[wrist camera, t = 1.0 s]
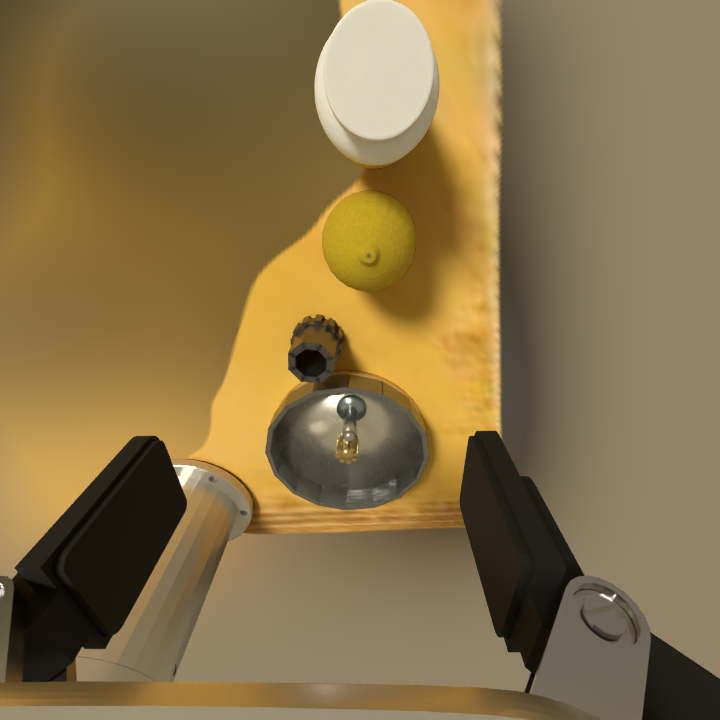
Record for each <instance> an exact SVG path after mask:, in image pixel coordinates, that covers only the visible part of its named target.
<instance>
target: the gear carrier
mask: <svg viewBox="0 0 720 720" xmlns="http://www.w3.org/2000/svg"><path fill="white" fill-rule="evenodd" d="M265 452H266V455H267V458H268V460H269V463H270V465H271V468H272V470H273V473H274V475H275V476H276V477H277V478H278V479H279V480H280V481H281V482H282V483H283V484H284V485H285V486H286V487H287V488H288V489H289V490H290V491H291V492H292V493H293V494H295V495H298V496H300V497H302V498H304V499H306V500H308V501H310V502H312V503H314V504H316V505H319V506H325V507H330V508H336V509H342V510H355V509H366V508H374V507H378V506H380V505H383V504H385V503H388V502H390V501H393V500H395V499H398V498H400V497H401V496H402V495H404V494H405V493H406V492H407V491H408V490H409V489H411V488H412V487H413V486H414V485H415V484H416V483H417V482H419V480H420V478H421V476H422V473H423V471H424V469H425V467H426V464H427V462H428V460H429V454H428V444H427V434H426V430H425V425H424V421H423V418H422V417H421V415H420V412H419V410H418V408H417V406H416V404H415V403H414V401H413V400H412V399H411V398H410V396H409V395H408V394H407V393H406V392H405V391H403V390H402V389H401V388H400V387H398V386H397V385H396V384H394V383H392V382H390V381H388V380H387V379H384V378H382V377H379V376H377V375H374V374H370V373H366V372H360V371H348V370H342V371H334V372H333V374H332V375H330V376H329V377H328V378H326V379H325V380H323V381H322V382H321V383H311V382H301V383H300V384H298V385H297V386H295V387H294V388H293V389H292V390H291V391H290V392H289V393H288V394H287V395H286V396H285V397H284V399H283V400H282V402H281V404H280V405H279V408H278V409H277V411H276V412H275V413H274V416H273V418H272V421H271V423H270V426H269V428H268V435H267V443H266V451H265Z"/></svg>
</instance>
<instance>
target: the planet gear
mask: <svg viewBox="0 0 720 720" xmlns="http://www.w3.org/2000/svg"><path fill="white" fill-rule="evenodd" d="M334 324H335V321H334V320H333V319H331V318H329V320H325V319H323V315H316V317H315V319H314V318H311V317H310V316H308V317H305V318H304V319H303V321H302V323H298V324H297V326H296V327H295V329H294V331H293V336H292V338H291V345H292V346H291V348H290V350H289V352H288V370H290V371H291V372H292V373H293V374H294V375H295V376H296V377H297V378H298V379H299V380H300V381H301V382H311V383H321V382H322V381H323V380H325V379H326V378H328V377H329V376H330V375H332V374H333V372H334V367H335V361H336V360H338V358H339V357H340V355H341V350H343V344H344V338H342V333H343V331H342V329H341V327H337V328H336V327H335V326H334Z"/></svg>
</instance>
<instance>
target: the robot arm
mask: <svg viewBox="0 0 720 720" xmlns="http://www.w3.org/2000/svg"><path fill="white" fill-rule="evenodd" d="M460 507H461V512H462V515H463V519H464V523H465V526H466V529H467V533H468V537H469V540H470V544H471V548H472V551H473V555H474V558H475V562H476V565H477V569H478V572H479V576H480V580H481V583H482V587H483V590H484V594H485V597H486V601H487V605H488V608H489V612H490V615H491V618H492V622H493V626H494V629H495V632H496V634H497V636H498V637H504V639H505V643H506V646H507V649H508V652H520V653H521V656H522V659H523V662H524V665H525V667H526V668H527V669H528V670H529V671H530V674H529V677H528V680H527V683H526V685H525V688H524V691H523V692H518V691H509V690H499V689H488V688H477V687H475V688H474V687H450V686H449V687H448V686H422V685H379V684H318V683H316V684H315V683H237V682H236V683H235V682H173V681H174V678H175V675H176V673H177V671H178V668H179V665H180V663H181V660H182V658H183V655H184V652H185V650H186V647H187V644H188V642H189V640H190V637H191V635H192V632H193V629H194V627H195V624H196V622H197V619H198V616H199V614H200V611H201V608H202V606H203V604H204V601H205V598H206V596H207V593H208V591H209V588H210V586H211V583H212V580H213V578H214V575H215V572H216V570H217V567H218V565H219V562H220V560H221V557H222V555H223V552H224V549H225V547H226V544H227V542H228V541H230V540H233V539H234V538H236V537H238V536H240V535H241V534H242V533H243V532H244V531H246V529H247V527H248V526H249V524H250V521H251V519H252V516H253V509H254V507H253V501H252V498H251V496H250V494H249V492H248V491H247V489H246V488H245V487H244V485H243V484H242V483H241V482H240V481H238V480H237V479H236V478H235V477H234V476H232V475H231V474H229V473H228V472H226V471H224V470H222V469H220V468H219V467H216V466H214V465H211V464H208V463H205V462H201V461H196V460H188V459H170V456H169V454H168V451H167V449H166V447H165V444H164V442H163V441H160V440H159V438H158V437H156V436H136V437H133V438H132V439H131V440H130V441H129V442H128V443H127V444H126V445H125V446H124V447H123V449H122V450H121V451H120V452H119V453H118V454H117V455H116V456H115V457H114V459H113V460H112V461H111V462H110V463H109V464H108V465H107V466H106V467H105V468H104V470H103V471H102V472H101V473H100V474H99V475H98V476H97V477H96V478H95V480H94V481H93V482H92V483H91V484H90V485H89V486H88V487H87V488H86V489H85V491H84V492H83V493H82V494H81V495H80V496H79V497H78V498H77V499H76V500H75V502H74V503H73V504H72V505H71V506H70V507H69V508H68V509H67V511H66V512H65V513H64V514H63V515H62V516H61V517H60V518H59V519H58V520H57V521H56V523H55V524H54V525H53V526H52V527H51V528H50V529H49V530H48V532H47V533H46V534H45V535H44V536H43V537H42V538H41V539H40V540H39V541H38V543H37V544H36V545H35V546H34V547H33V548H32V549H31V550H30V551H29V552H28V554H27V555H26V556H25V557H24V558H23V559H22V560H21V561H20V562H19V564H18V565H17V566H16V567H15V569H16V570H17V571H18V573H17V574H16V576H15V577H14V578H13V579H10V578H9V577H7V576H0V720H720V679H719V678H718V677H716V676H715V675H713V674H712V673H710V672H709V671H707V670H706V669H704V668H703V667H701V666H700V665H698V664H697V663H695V662H694V661H692V660H691V659H689V658H688V657H686V656H685V655H683V654H682V653H680V652H679V651H677V650H676V649H675V648H673V647H671V646H670V645H669V644H667V643H666V642H664V641H663V640H661V639H660V638H658V637H657V636H655V635H654V634H652V633H651V632H650V628H649V625H648V623H647V621H646V618H645V616H644V614H643V613H642V611H641V610H640V609H639V607H638V606H637V604H636V603H635V602H634V601H633V600H632V599H631V598H630V597H629V596H628V595H627V594H626V593H625V592H623V591H622V590H621V589H619V588H618V587H616V586H615V585H613V584H612V583H609V582H607V581H605V580H603V579H601V578H597V577H593V576H584V574H583V572H582V570H581V568H580V567H579V565H578V563H577V561H576V559H575V557H574V555H573V554H572V552H571V550H570V548H569V546H568V544H567V543H566V541H565V539H564V537H563V535H562V533H561V532H560V530H559V528H558V526H557V524H556V522H555V521H554V519H553V517H552V515H551V513H550V511H549V509H548V508H547V506H546V504H545V502H544V500H543V499H542V497H541V495H540V493H539V491H538V490H537V487H536V486H535V484H534V482H533V481H532V480H531V478H529V477H526V476H520V475H519V473H518V471H517V469H516V467H515V466H514V463H513V461H512V460H511V457H510V455H509V454H508V452H507V450H506V448H505V446H504V444H503V442H502V440H501V438H500V436H499V434H498V433H497V432H496V431H476V433H475V436H470V437H469V439H468V446H467V453H466V459H465V466H464V473H463V480H462V486H461V493H460Z"/></svg>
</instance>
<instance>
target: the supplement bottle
mask: <svg viewBox="0 0 720 720" xmlns="http://www.w3.org/2000/svg"><path fill="white" fill-rule="evenodd" d="M438 97H439V72H438V65H437V61H436V58H435V54H434V51H433V49H432V45H431V42H430V39H429V36H428V34H427V32H426V30H425V28H424V26H423V24H422V23H421V21H420V20H419V19H418V17H417V16H416V15H415V14H414V13H413V12H412V11H411V10H410V9H408V8H407V7H406V6H404V5H402V4H400V3H398V2H395V1H393V0H369V1H366V2H363V3H361V4H359V5H357V6H356V7H354V8H352V9H351V10H350V11H349V12H348V13H346V14H345V16H344V17H343V18H342V19H341V20H340V21H339V23H338V24H337V26H336V28H335V29H334V31H333V33H332V35H331V36H330V37H329V39H328V41H327V42H326V44H325V46H324V48H323V50H322V53H321V55H320V58H319V61H318V65H317V70H316V76H315V101H316V108H317V112H318V116H319V119H320V121H321V124H322V126H323V129H324V131H325V132H326V134H327V136H328V138H329V139H330V140H331V142H332V143H333V144H334V145H335V147H336V148H337V149H338V150H339V151H340V152H341V153H342V154H343V155H344V156H345V157H346V158H347V159H348V160H349V161H351V162H352V163H354V164H356V165H358V166H360V167H363V168H368V169H379V168H384V167H386V166H389V165H391V164H393V163H395V162H397V161H398V160H399V159H401V158H403V157H404V156H405V155H407V154H408V153H409V152H410V151H412V150H413V149H414V148H415V147H416V146H417V144H418V143H419V142H420V141H421V140H422V138H423V137H424V135H425V134H426V132H427V130H428V129H429V127H430V125H431V122H432V120H433V117H434V114H435V111H436V108H437V103H438Z"/></svg>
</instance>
